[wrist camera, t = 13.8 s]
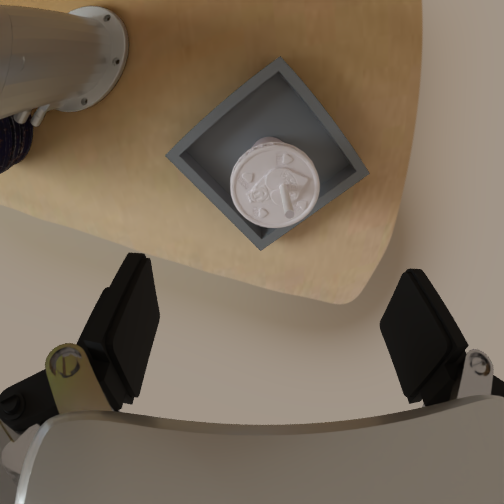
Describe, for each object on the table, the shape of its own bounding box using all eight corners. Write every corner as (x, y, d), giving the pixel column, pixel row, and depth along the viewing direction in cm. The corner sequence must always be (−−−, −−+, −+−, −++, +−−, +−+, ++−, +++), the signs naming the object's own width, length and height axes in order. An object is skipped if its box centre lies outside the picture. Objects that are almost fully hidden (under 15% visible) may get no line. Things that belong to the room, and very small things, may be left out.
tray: (260, 236, 34) (260, 250, 31) (173, 148, 28) (164, 155, 26) (360, 164, 29) (369, 173, 26) (277, 58, 23) (280, 56, 21)
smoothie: (309, 172, 29) (345, 246, 17) (250, 192, 30) (247, 275, 19) (289, 114, 26) (319, 147, 14) (227, 136, 27) (204, 186, 15)
